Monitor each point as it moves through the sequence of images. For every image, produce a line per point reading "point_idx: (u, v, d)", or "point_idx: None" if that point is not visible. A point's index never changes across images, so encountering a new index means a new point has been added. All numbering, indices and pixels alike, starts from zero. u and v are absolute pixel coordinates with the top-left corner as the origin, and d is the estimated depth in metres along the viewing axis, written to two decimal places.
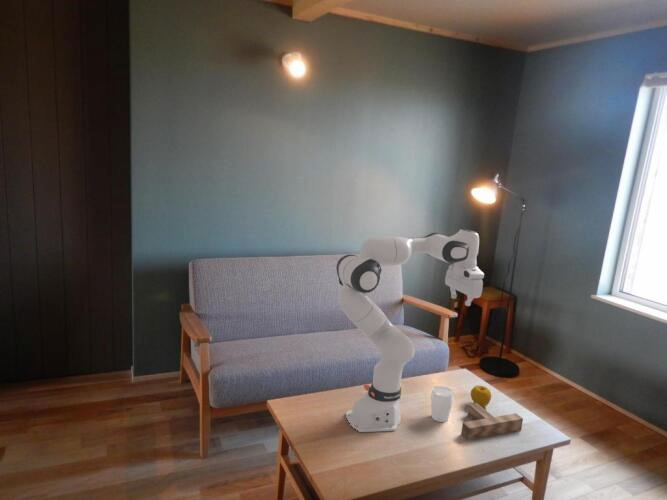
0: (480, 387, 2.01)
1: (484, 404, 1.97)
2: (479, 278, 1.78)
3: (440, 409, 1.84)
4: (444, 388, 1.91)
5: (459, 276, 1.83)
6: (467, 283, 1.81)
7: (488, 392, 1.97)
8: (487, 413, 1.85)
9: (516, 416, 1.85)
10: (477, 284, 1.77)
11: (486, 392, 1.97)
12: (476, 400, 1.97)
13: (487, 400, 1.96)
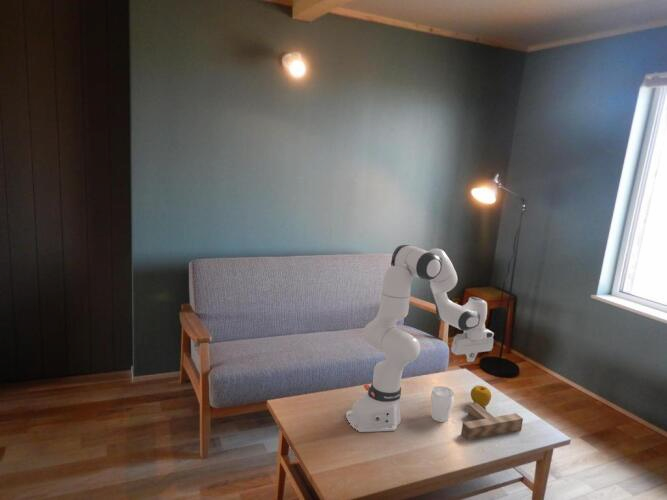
0: (480, 387, 2.01)
1: (484, 404, 1.97)
2: None
3: (440, 409, 1.84)
4: (444, 388, 1.91)
5: (479, 340, 2.02)
6: (484, 342, 2.05)
7: (488, 392, 1.97)
8: (487, 413, 1.85)
9: (516, 416, 1.85)
10: None
11: (486, 392, 1.97)
12: (476, 400, 1.97)
13: (487, 400, 1.96)
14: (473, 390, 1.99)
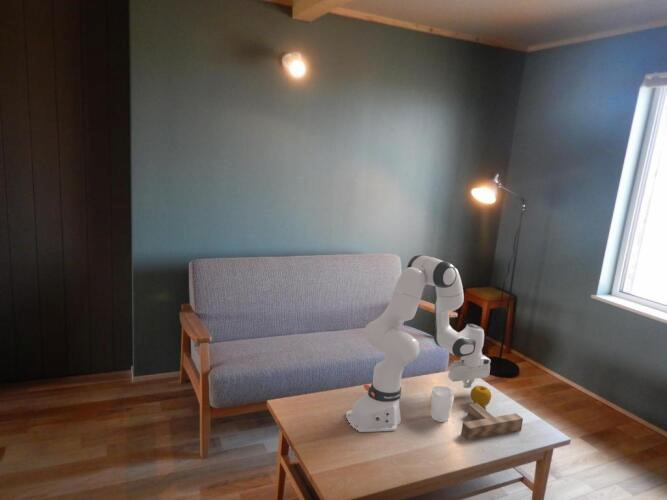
0: (480, 387, 2.01)
1: (484, 404, 1.97)
2: None
3: (440, 409, 1.84)
4: (444, 388, 1.91)
5: (476, 367, 2.04)
6: (480, 368, 2.07)
7: (488, 392, 1.97)
8: (487, 413, 1.85)
9: (516, 416, 1.85)
10: None
11: (486, 392, 1.97)
12: (476, 400, 1.97)
13: (487, 400, 1.96)
14: (473, 390, 1.99)
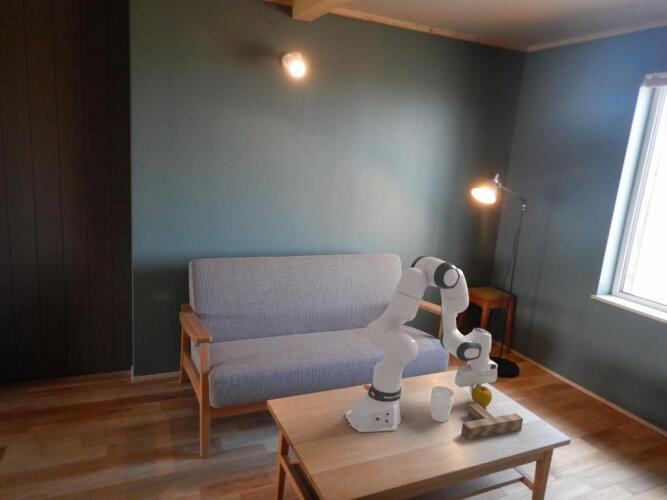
0: (481, 387, 2.00)
1: (485, 404, 1.96)
2: None
3: (440, 409, 1.84)
4: (444, 388, 1.91)
5: (483, 372, 2.00)
6: (487, 373, 2.03)
7: (489, 392, 1.97)
8: (487, 413, 1.85)
9: (516, 416, 1.85)
10: None
11: (487, 392, 1.96)
12: (477, 400, 1.97)
13: (488, 400, 1.96)
14: (474, 390, 1.99)
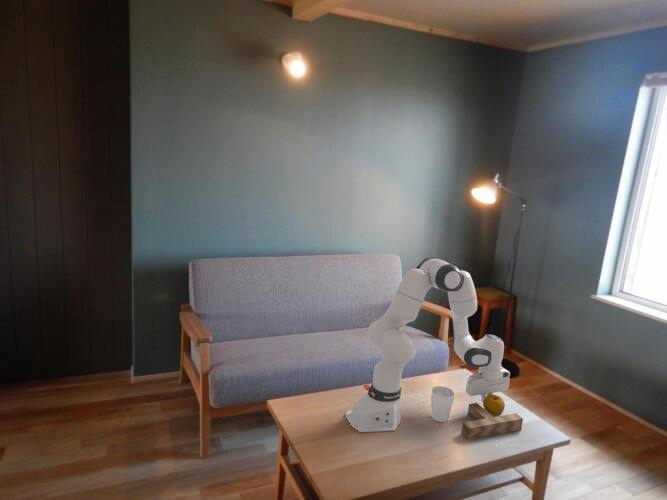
0: (493, 396, 1.93)
1: (497, 414, 1.89)
2: None
3: (440, 409, 1.84)
4: (444, 388, 1.91)
5: (495, 380, 1.93)
6: (499, 381, 1.96)
7: (502, 402, 1.90)
8: (487, 413, 1.85)
9: (516, 416, 1.85)
10: None
11: (500, 402, 1.89)
12: (489, 410, 1.90)
13: (501, 410, 1.89)
14: (486, 400, 1.92)
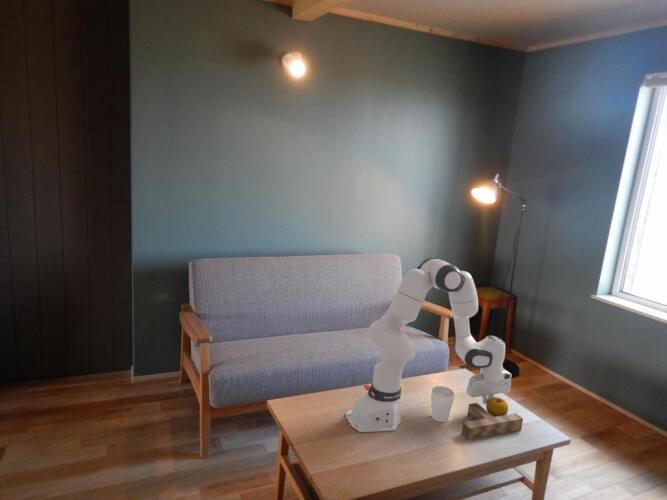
0: (496, 399, 1.91)
1: None
2: None
3: (440, 409, 1.84)
4: (444, 388, 1.91)
5: (496, 382, 1.92)
6: (501, 383, 1.95)
7: (505, 404, 1.88)
8: (487, 413, 1.85)
9: (516, 416, 1.85)
10: None
11: (503, 404, 1.87)
12: (493, 413, 1.88)
13: (504, 413, 1.87)
14: (489, 402, 1.90)
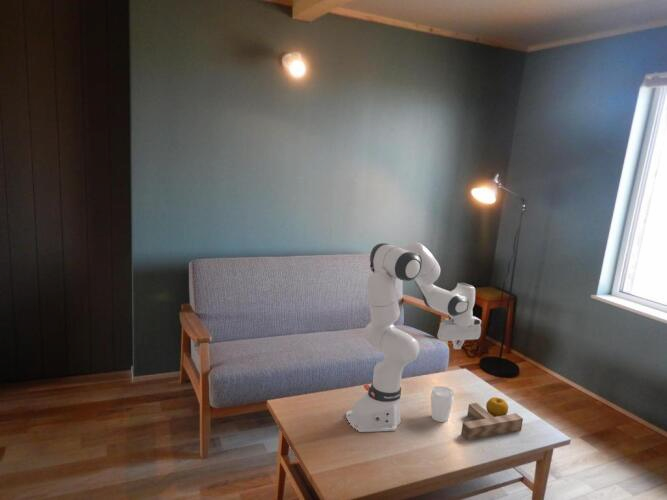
0: (496, 399, 1.91)
1: None
2: None
3: (440, 409, 1.84)
4: (444, 388, 1.91)
5: (466, 327, 1.98)
6: (471, 329, 2.01)
7: (505, 404, 1.88)
8: (487, 413, 1.85)
9: (516, 416, 1.85)
10: None
11: (503, 404, 1.87)
12: (493, 413, 1.88)
13: (504, 413, 1.87)
14: (489, 402, 1.90)
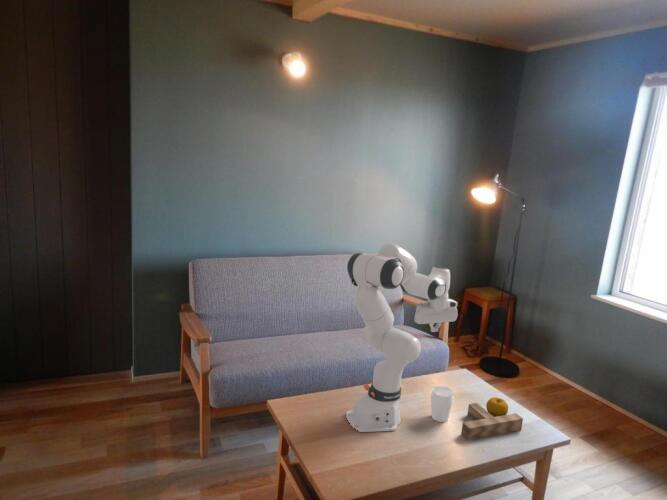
0: (496, 399, 1.91)
1: None
2: None
3: (440, 409, 1.84)
4: (444, 388, 1.91)
5: (442, 309, 2.00)
6: (447, 312, 2.03)
7: (505, 404, 1.88)
8: (487, 413, 1.85)
9: (516, 416, 1.85)
10: None
11: (504, 404, 1.87)
12: (493, 413, 1.88)
13: (504, 413, 1.87)
14: (489, 402, 1.90)
